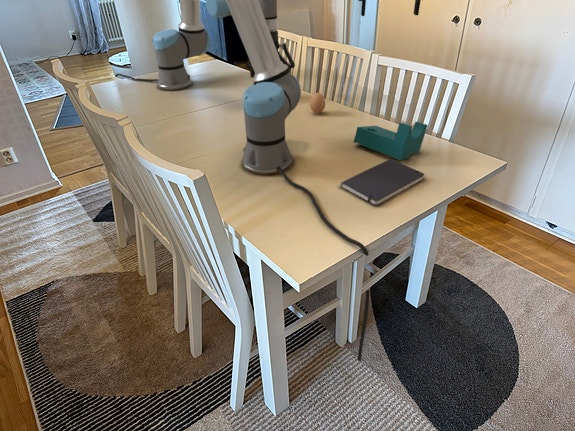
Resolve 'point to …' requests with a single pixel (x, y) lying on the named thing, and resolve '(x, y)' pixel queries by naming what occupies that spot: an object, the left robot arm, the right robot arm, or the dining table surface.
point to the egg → (317, 103)
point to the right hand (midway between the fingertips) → (389, 15)
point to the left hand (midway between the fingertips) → (271, 85)
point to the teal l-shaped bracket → (392, 139)
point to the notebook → (382, 181)
